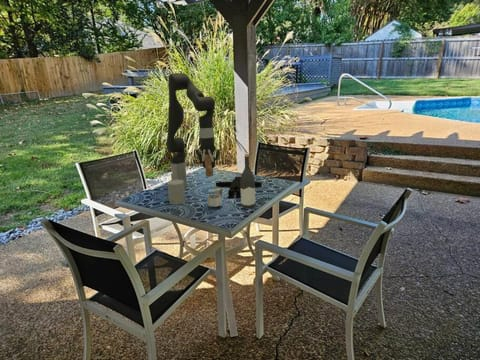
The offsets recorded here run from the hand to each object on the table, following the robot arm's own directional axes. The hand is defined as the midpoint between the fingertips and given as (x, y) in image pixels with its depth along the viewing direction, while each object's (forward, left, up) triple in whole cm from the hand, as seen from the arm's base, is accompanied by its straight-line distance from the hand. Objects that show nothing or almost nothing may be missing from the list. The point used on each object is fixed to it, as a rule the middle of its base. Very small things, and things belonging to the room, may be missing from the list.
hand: (209, 167), depth 170 cm
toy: (+7, +31, -24) cm, 40 cm away
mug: (+1, +4, -24) cm, 24 cm away
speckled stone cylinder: (-24, +6, -24) cm, 34 cm away
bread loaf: (0, 0, -5) cm, 5 cm away
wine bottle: (+19, +7, -24) cm, 32 cm away
